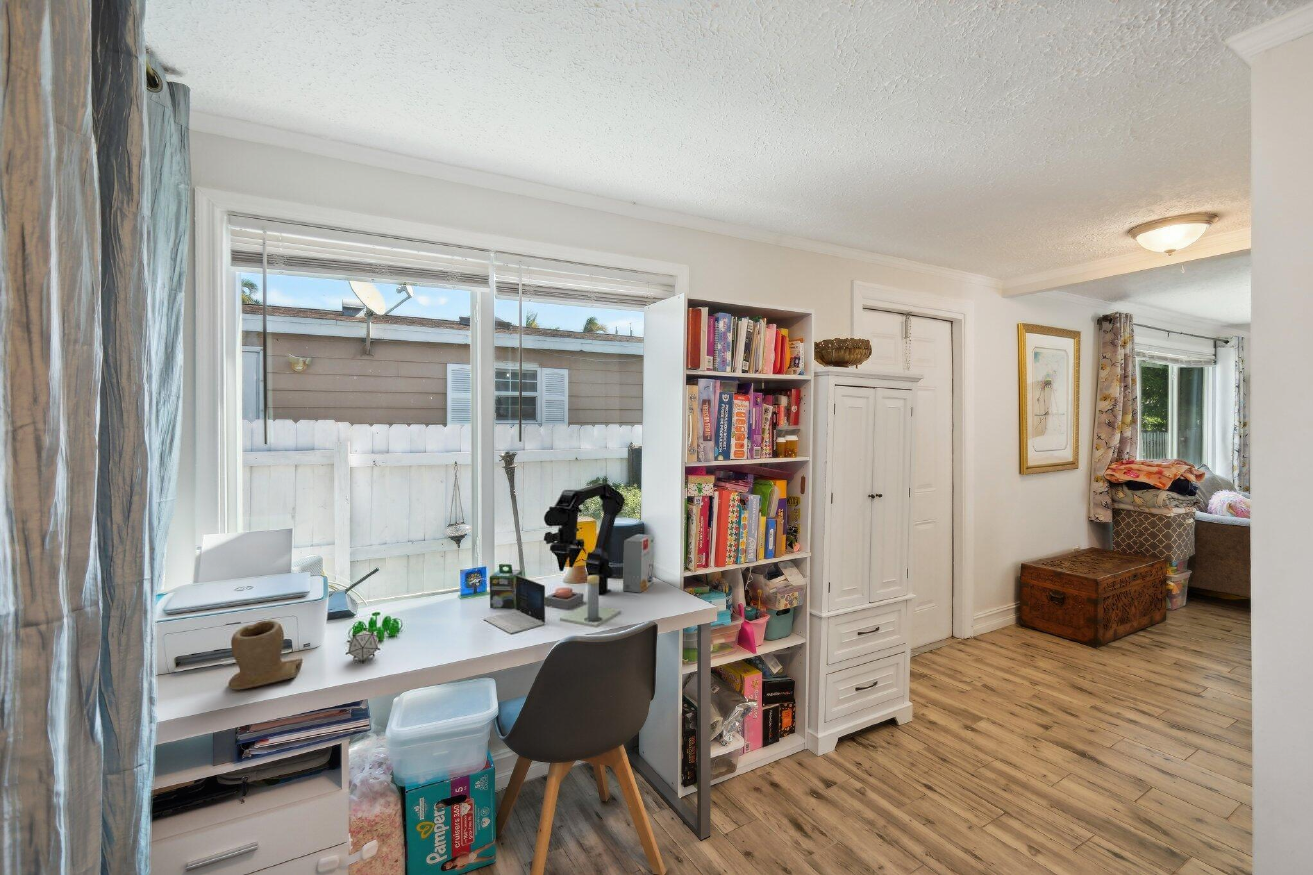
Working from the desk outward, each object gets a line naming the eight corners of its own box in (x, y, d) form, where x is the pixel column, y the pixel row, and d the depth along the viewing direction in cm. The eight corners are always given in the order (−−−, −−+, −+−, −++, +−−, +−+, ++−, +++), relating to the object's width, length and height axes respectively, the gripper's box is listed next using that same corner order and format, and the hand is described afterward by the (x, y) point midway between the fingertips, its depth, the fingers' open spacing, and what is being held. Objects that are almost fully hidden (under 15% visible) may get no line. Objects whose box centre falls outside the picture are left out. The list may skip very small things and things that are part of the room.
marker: (594, 616, 188) (594, 574, 188) (601, 619, 185) (601, 576, 185) (585, 619, 185) (584, 576, 185) (592, 621, 182) (592, 578, 182)
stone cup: (225, 700, 131) (224, 636, 131) (231, 680, 141) (230, 620, 141) (302, 684, 139) (302, 624, 139) (302, 667, 149) (302, 610, 149)
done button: (562, 593, 207) (562, 586, 207) (575, 595, 205) (575, 588, 205) (552, 597, 202) (552, 590, 202) (566, 600, 199) (566, 593, 199)
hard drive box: (640, 593, 217) (641, 541, 216) (622, 591, 219) (622, 540, 219) (654, 583, 231) (654, 534, 231) (636, 581, 234) (636, 533, 233)
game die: (358, 676, 152) (334, 654, 147) (360, 654, 159) (338, 632, 154) (389, 658, 154) (366, 635, 149) (390, 636, 161) (368, 614, 156)
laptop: (482, 620, 186) (482, 581, 186) (516, 612, 195) (516, 574, 195) (510, 635, 173) (510, 593, 173) (545, 625, 182) (545, 585, 182)
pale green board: (586, 606, 200) (586, 604, 200) (620, 612, 194) (620, 610, 194) (559, 620, 186) (559, 617, 186) (595, 627, 180) (595, 624, 180)
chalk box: (523, 600, 207) (523, 560, 206) (514, 608, 197) (514, 566, 197) (498, 600, 208) (498, 560, 207) (488, 608, 198) (488, 566, 198)
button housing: (560, 597, 210) (560, 589, 210) (583, 601, 206) (583, 593, 206) (544, 605, 201) (544, 597, 201) (567, 609, 197) (567, 601, 197)
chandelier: (336, 643, 166) (336, 620, 165) (368, 626, 180) (368, 604, 180) (384, 646, 164) (384, 622, 164) (412, 628, 179) (412, 606, 179)
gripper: (558, 521, 213) (555, 563, 212) (537, 525, 195) (534, 570, 194) (586, 524, 211) (583, 566, 210) (567, 527, 193) (564, 574, 192)
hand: (566, 569), depth 202 cm, fingers open, 9 cm apart
